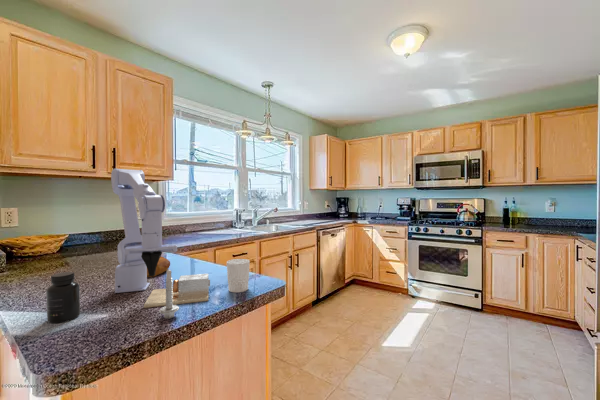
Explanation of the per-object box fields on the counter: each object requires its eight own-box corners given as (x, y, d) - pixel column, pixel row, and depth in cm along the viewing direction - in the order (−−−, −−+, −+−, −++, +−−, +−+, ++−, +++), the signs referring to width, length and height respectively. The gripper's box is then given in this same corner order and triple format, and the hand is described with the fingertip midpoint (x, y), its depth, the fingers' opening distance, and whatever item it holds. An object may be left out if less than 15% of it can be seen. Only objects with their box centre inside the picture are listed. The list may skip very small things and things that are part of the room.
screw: (173, 320, 73) (155, 320, 73) (182, 313, 78) (165, 312, 78) (173, 271, 73) (155, 271, 73) (181, 266, 78) (165, 266, 78)
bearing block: (143, 307, 82) (143, 287, 82) (153, 292, 95) (153, 275, 95) (208, 300, 87) (208, 281, 87) (208, 287, 100) (208, 270, 100)
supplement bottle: (60, 313, 78) (59, 270, 78) (86, 312, 78) (85, 270, 78) (39, 324, 71) (38, 277, 71) (67, 323, 72) (67, 277, 72)
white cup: (253, 287, 100) (253, 259, 100) (242, 294, 93) (242, 264, 93) (234, 285, 103) (234, 258, 103) (222, 291, 95) (222, 262, 95)
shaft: (172, 294, 88) (172, 282, 88) (174, 290, 92) (174, 278, 92) (210, 290, 92) (209, 278, 92) (210, 287, 96) (210, 275, 96)
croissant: (175, 273, 127) (176, 255, 129) (156, 278, 112) (158, 258, 113) (144, 272, 128) (146, 254, 129) (121, 277, 113) (124, 257, 114)
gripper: (122, 235, 82) (122, 280, 82) (175, 233, 87) (175, 276, 87) (128, 232, 89) (128, 274, 89) (177, 230, 93) (177, 270, 94)
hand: (152, 275), depth 89 cm, fingers closed
